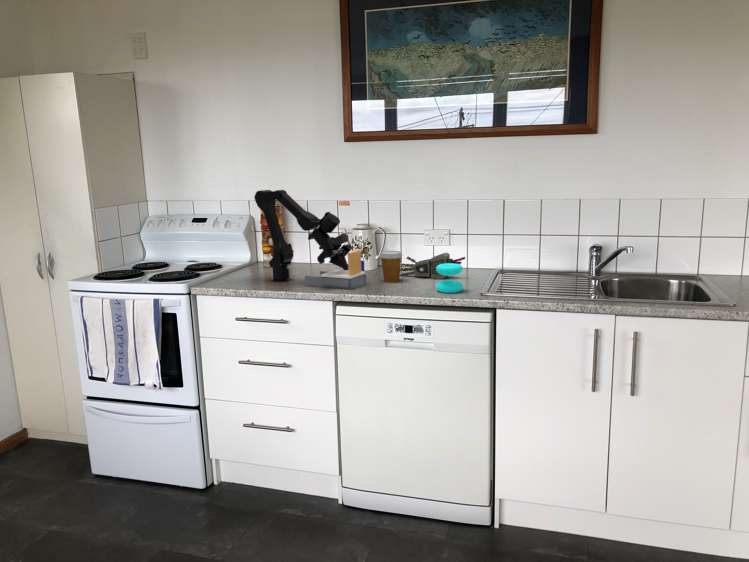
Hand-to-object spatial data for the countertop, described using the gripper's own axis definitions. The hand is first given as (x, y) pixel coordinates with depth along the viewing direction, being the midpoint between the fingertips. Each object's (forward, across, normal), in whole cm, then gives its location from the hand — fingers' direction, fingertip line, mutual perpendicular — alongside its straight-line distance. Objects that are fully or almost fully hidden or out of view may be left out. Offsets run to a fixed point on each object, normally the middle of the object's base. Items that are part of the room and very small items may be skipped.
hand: (348, 269), depth 238 cm
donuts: (+34, +6, -24) cm, 42 cm away
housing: (+1, 0, +9) cm, 9 cm away
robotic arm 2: (+22, +28, -12) cm, 38 cm away
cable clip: (-2, +20, +12) cm, 23 cm away
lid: (0, 0, +4) cm, 4 cm away
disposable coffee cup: (+13, +16, -3) cm, 21 cm away
